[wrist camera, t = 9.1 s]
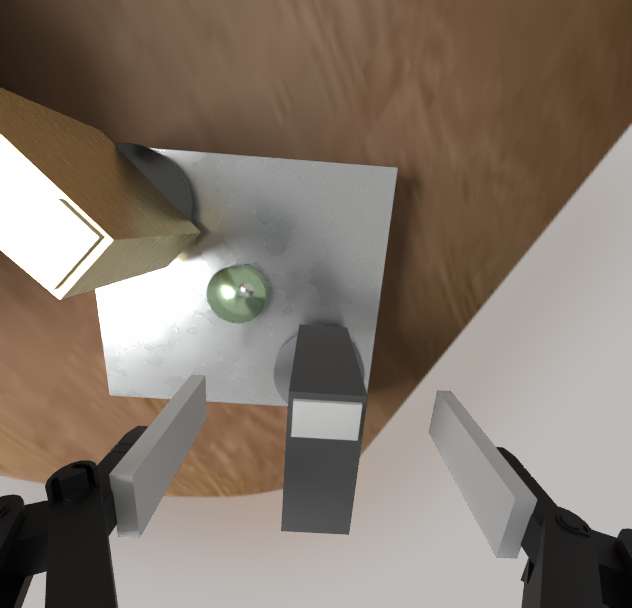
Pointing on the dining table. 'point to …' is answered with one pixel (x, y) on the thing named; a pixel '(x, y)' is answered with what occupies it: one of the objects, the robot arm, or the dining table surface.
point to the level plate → (252, 276)
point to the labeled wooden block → (85, 202)
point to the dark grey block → (321, 428)
